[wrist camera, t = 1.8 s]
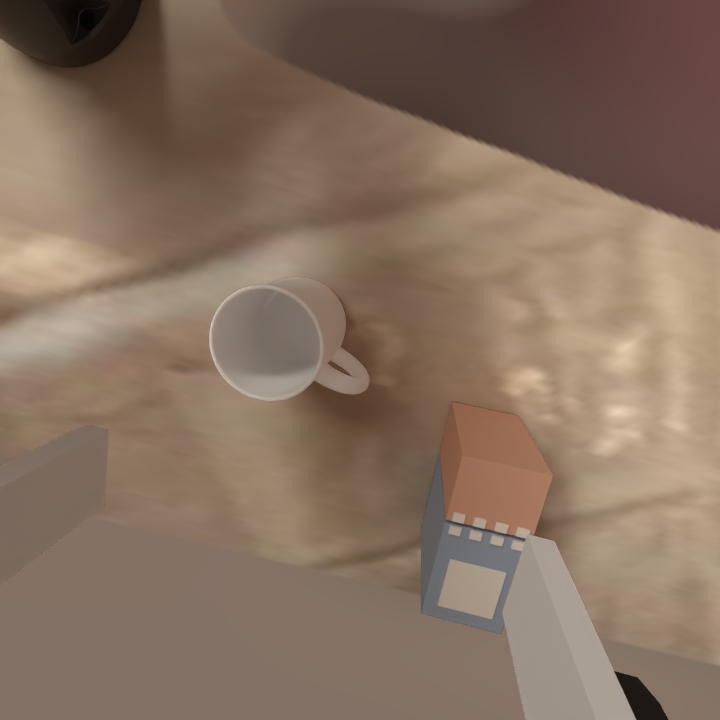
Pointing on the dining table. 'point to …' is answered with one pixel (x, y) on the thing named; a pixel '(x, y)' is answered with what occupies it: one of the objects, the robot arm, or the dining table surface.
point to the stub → (492, 471)
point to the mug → (283, 340)
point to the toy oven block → (464, 566)
